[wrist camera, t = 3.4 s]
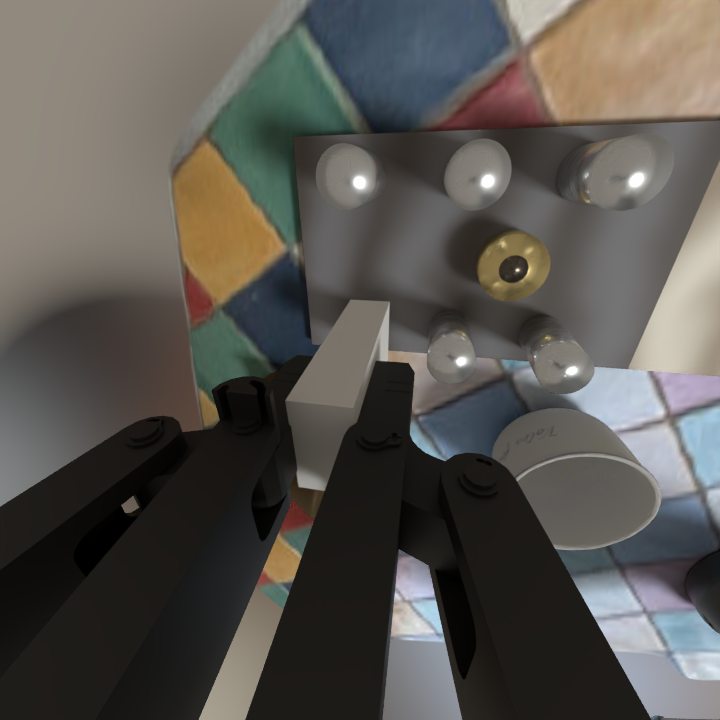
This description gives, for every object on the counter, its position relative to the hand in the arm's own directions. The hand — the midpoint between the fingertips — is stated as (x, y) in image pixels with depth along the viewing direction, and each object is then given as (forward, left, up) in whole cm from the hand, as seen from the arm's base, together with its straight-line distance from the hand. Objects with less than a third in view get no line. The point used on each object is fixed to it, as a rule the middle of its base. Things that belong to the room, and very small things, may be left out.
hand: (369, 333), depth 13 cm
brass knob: (-8, 0, -14) cm, 16 cm away
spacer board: (-11, 0, -15) cm, 19 cm away
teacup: (-14, +18, -15) cm, 28 cm away
